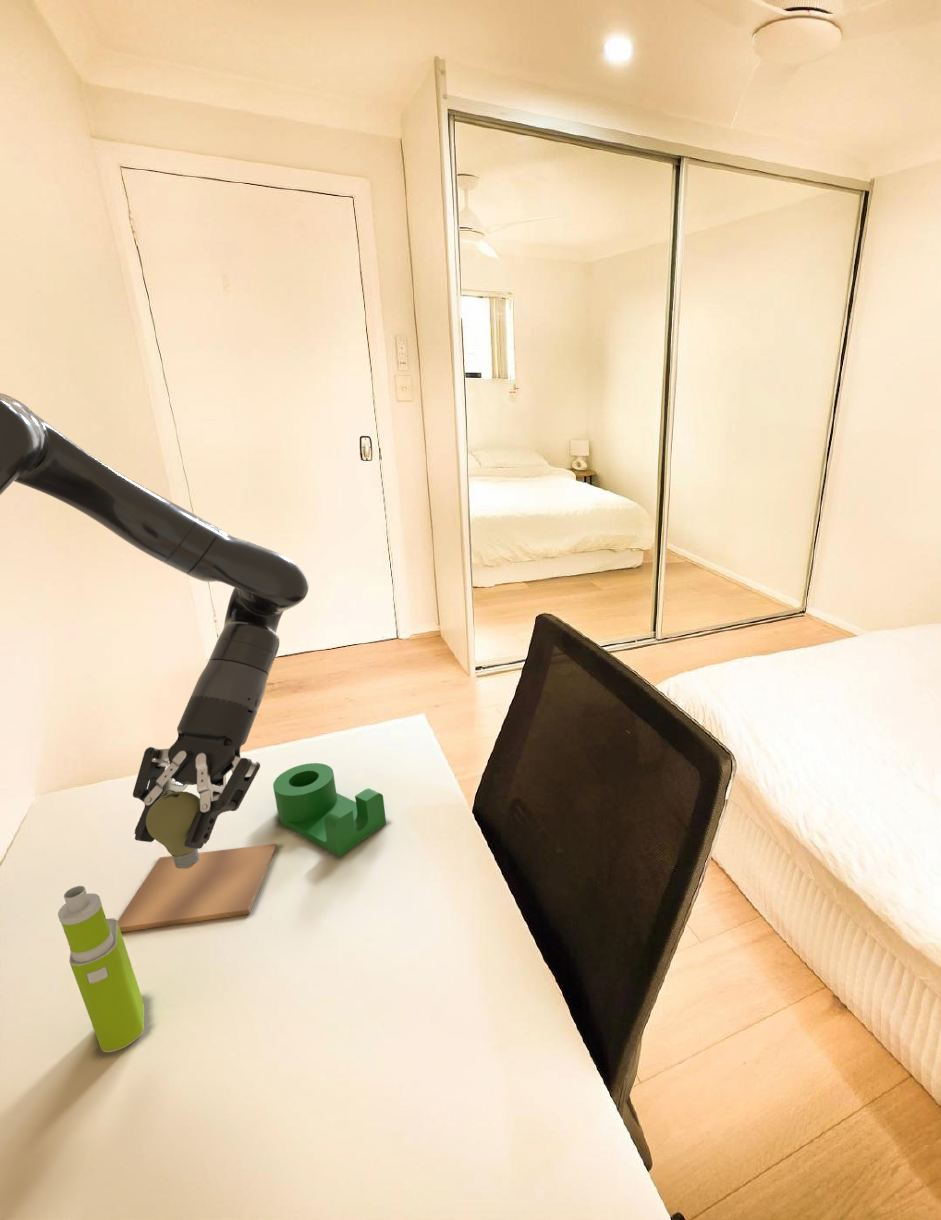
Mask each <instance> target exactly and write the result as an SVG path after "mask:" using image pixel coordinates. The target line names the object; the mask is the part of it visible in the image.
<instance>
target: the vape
mask: <svg viewBox="0 0 941 1220" xmlns="http://www.w3.org/2000/svg"><path fill="white" fill-rule="evenodd" d="M63 898H64V901H65V903H64V904H63V905H62V906H61V907H60V908H59V910H58V912H57V917H58V919H59V922H60V923H61V926H62V929H63V933H64V934H65V938H66V941H67V943H68V946H69V950H70V953H69V964H70V968H71V970H72V973H73V976H74V979H75V981H76V984H77V987H78V989H79V992H80V995H81V998H82V1000H83V1004H84V1005H85V1009H86V1011H87V1014H88V1017H89V1020H90V1023H91V1025H92V1028H93V1030H94V1034H95V1037H96V1039H97V1041H98V1044H99V1047H100V1050H101V1051H102V1052H103V1053H113V1052H116V1051H120V1050H122V1049H124V1048H126V1047H128V1046H129V1045H131V1044H133V1043H134V1042H135V1041H137V1040H138V1039H139V1038H140V1037H141V1036H142V1035H143V1033H144V1030H145V1004H144V1000H143V997H142V994H141V991H140V987H139V984H138V981H137V977H136V974H135V972H134V968H133V966H132V965H133V964H132V962H131V959H130V956H129V953H128V950H127V947H126V944H125V941H124V937H123V934H122V932H121V931H120V928H119V925H118V922H117V921H118V919H116V918H112V917H111V918H107V917H106V914H105V911H104V907H103V905H102V900H101V897H100V895H99V894H98V893H94V892H93V893H91V892H90V893H88V892H87V890H86V887H85V886H83V885H76V886H74V887H71V888H70V889H68V890H67V891H65V892H64V894H63Z"/></svg>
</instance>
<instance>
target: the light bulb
mask: <svg viewBox="0 0 941 1220" xmlns="http://www.w3.org/2000/svg"><path fill="white" fill-rule="evenodd" d="M196 813H201V811H200V797H199V796H198V795H196V794H194V793H192V792H188V791H182V792H173V793H169V794H167V795H165V796H163V797H161V798H159V799H158V800H157V801H156V802H155V803H154V804H153V805H152V806H151V808H150V809H149V811H148V813H147V817H146V827H147V830H148V832H149V834H150V835H151V836H152V837H153V838H154V841H156V842H158V843H160V844H161V845H162V846H164V848H165V849H166V850H167V852H168V853H169V854H170V856H173V859H174V862H175V866H176V868H179V869H188V868H191V867H192V866H193V865H194V864H195V863H197V862H198V860H199V858H200V856H199V853H200V852H199V849H196V848H187V847H185V846H184V843H185V841H186V838H187V835H188V833H189V830H190V828H191V825H192V823H193V820H194V818H195V815H196Z"/></svg>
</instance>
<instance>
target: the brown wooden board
mask: <svg viewBox="0 0 941 1220" xmlns="http://www.w3.org/2000/svg"><path fill="white" fill-rule="evenodd" d="M277 849H278V845H277V843H271V844H270V843H269V844H262V845H254V846H246V847H238V848H236V847H235V848H228V849H221V850H212V851H203V852H199V856H200V858H199V860H198V862H197V863H195V864H194V865H193V866H192V867H191V868H188V869H179V868H176V866H175V862H174V859H173V856H172V855H169V856H161V857H159V858H158V860H157V861H156V863H155V864H154V865H153V867H152V868H151V870H150V871H149V873H148V875H147V876H146V877H145V879H144V881H142V884H141V885H140V887H139V888H138V889H137V891H136V892H135V894H134V896H133V897H132V899H130V901H129V903H128V904H127V906H126V908H125V909H124V911H123V912H122V913H121V915H120V917H119V918H118V919H117V922H118V925H119V928H120V931H121V933H125V932H130V931H138V930H144V929H152V928H159V927H160V928H161V927H166V926H167V927H168V926H175V925H180V924H181V925H182V924H187V923H196V922H201V921H203V922H204V921H209V920H215V919H216V920H217V919H224V918H232V917H237V916H238V917H239V916H245V915H250V914H251V911H252V910H253V909H252V908H253V906H254V904H255V901H256V899H257V897H258V895H259V892H260V891H261V888H262V885H263V883H264V880H265V878H266V875H267V873H268V870H269V868H270V866H271V863H272V861H273V860H274V857H275V855H276V851H277Z"/></svg>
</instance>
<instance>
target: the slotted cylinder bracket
mask: <svg viewBox="0 0 941 1220" xmlns="http://www.w3.org/2000/svg"><path fill="white" fill-rule="evenodd" d="M334 773H335V772H334V769H333V768H332V767H331V766H330V765H327V764H325V763H319V762H310V763H304V764H299V765H297V766H293V767H291V768H289V769H287V770H285V771H283V772H282V773H280V774H279V775H278V776H277V777H276V778H275V780H274V781H273V783H272V787H273V788H272V789H273V793H274V798H275V804H276V810H277V814H278V819H279V822H280V824H281V825H282V826H284V827H285V828H287V829H289V830H291V831H292V832H294V833H296V834H298V835H300V836H302V837H304V838H305V839H307V840H309V841H311V842H312V843H314V844H316V845H318V846H319V847H322V848H323V849H325V850H327V851H328V852H330V853H332V854H334V855H336V856H337V857H341V856H343V855H344V854H345V853H347V852H348V851H349V850H351V849H352V848H354V847H355V846H357V845H358V844H359V843H360V842H362V841H363V840H365V839H366V838H367V837H370V835H372V834H373V833H374V832H376V831H377V830H378V829H380V828H381V827H383V826H385V824H387V819H386V810H385V802H384V801H385V800H384V795H383V794H382V793H380V792H378V791H376V790H374V789H371V788H365V789H363V790H362V791H361V792H358V794H356V795H354V799H355V801H354V800H351V799H350V798H348V797H345V796H343V795H342V794H339V793H338V792H337V787H336V779H335V774H334Z"/></svg>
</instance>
